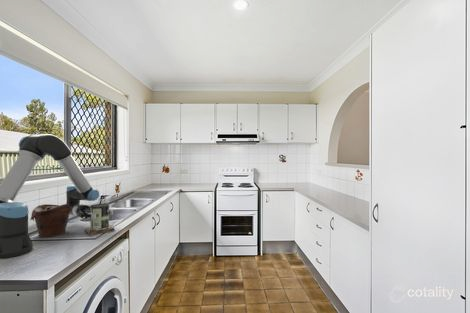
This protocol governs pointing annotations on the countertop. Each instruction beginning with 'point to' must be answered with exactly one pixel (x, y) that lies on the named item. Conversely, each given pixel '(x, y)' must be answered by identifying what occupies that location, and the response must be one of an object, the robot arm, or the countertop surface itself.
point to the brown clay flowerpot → (51, 219)
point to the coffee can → (99, 217)
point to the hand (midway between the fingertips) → (104, 214)
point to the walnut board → (92, 232)
